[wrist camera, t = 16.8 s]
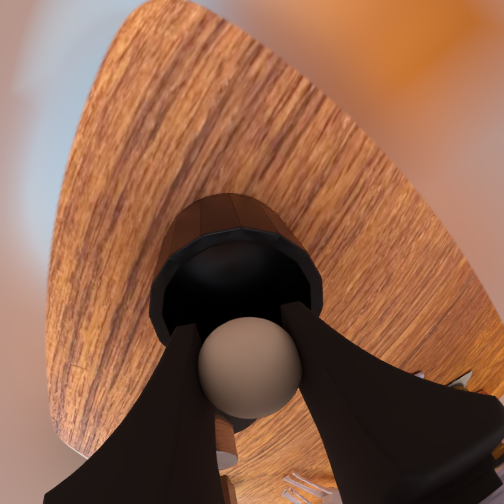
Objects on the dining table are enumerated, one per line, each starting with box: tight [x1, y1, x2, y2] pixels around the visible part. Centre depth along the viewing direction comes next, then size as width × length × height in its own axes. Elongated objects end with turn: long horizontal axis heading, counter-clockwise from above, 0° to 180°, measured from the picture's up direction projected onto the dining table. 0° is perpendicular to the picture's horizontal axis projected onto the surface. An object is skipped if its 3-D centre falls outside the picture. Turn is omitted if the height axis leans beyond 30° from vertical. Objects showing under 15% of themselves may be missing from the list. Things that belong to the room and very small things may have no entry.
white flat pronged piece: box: [280, 471, 343, 504], centre depth 28 cm, size 2×11×18 cm
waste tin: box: [149, 194, 323, 347], centre depth 13 cm, size 6×6×5 cm
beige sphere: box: [198, 317, 302, 419], centre depth 8 cm, size 3×3×3 cm
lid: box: [215, 406, 257, 470], centre depth 17 cm, size 7×7×5 cm
